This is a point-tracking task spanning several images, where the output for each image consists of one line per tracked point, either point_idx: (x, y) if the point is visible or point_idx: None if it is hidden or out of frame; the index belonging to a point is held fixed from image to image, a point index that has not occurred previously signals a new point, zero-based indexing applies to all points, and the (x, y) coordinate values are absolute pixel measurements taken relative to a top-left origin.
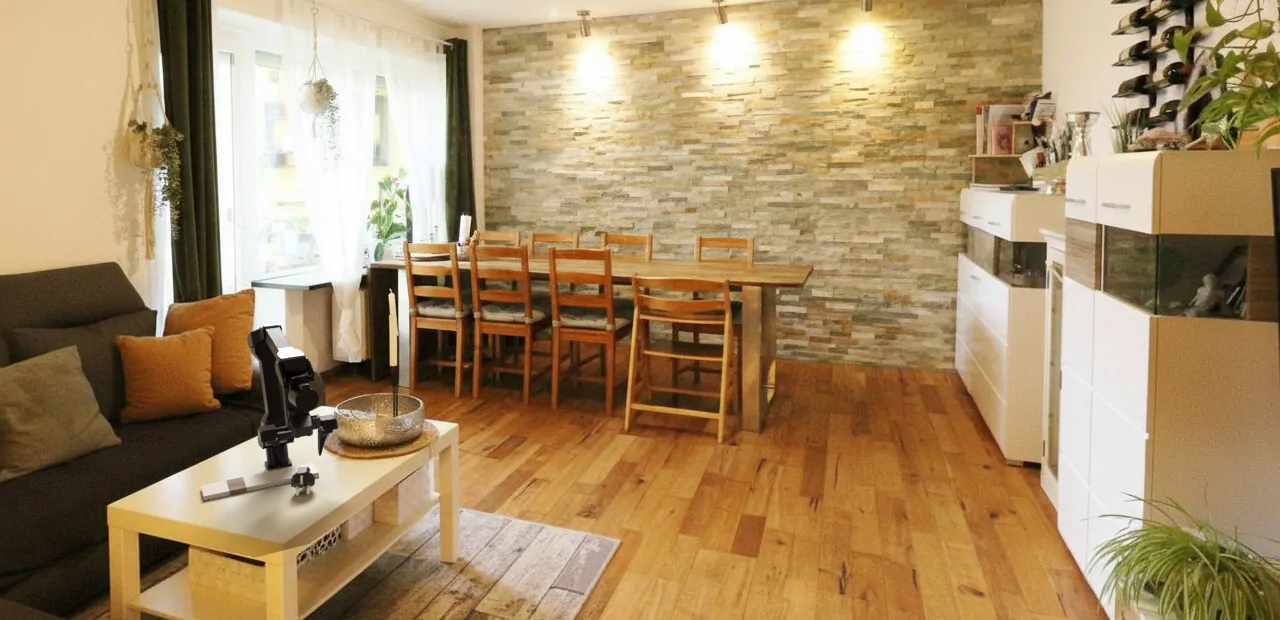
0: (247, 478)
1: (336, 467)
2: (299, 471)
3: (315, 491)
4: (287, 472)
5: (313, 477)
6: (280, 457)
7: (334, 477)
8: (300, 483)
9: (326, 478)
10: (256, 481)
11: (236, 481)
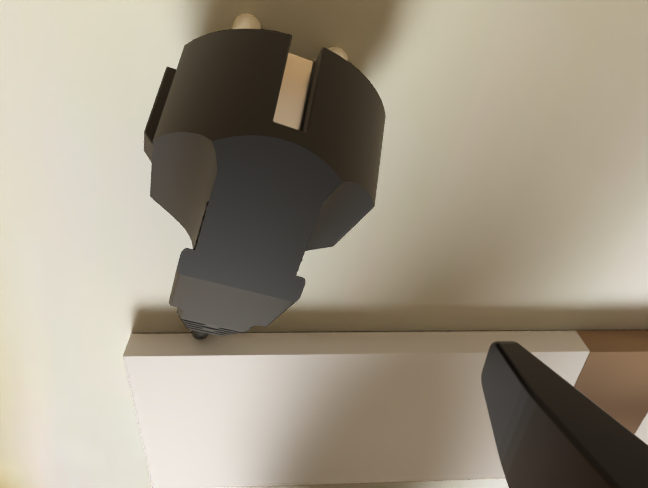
0: None
1: (12, 410)
2: (298, 196)
3: None
4: (313, 437)
5: (155, 125)
6: (581, 405)
7: (15, 268)
8: (310, 64)
9: (78, 280)
10: None
11: None
